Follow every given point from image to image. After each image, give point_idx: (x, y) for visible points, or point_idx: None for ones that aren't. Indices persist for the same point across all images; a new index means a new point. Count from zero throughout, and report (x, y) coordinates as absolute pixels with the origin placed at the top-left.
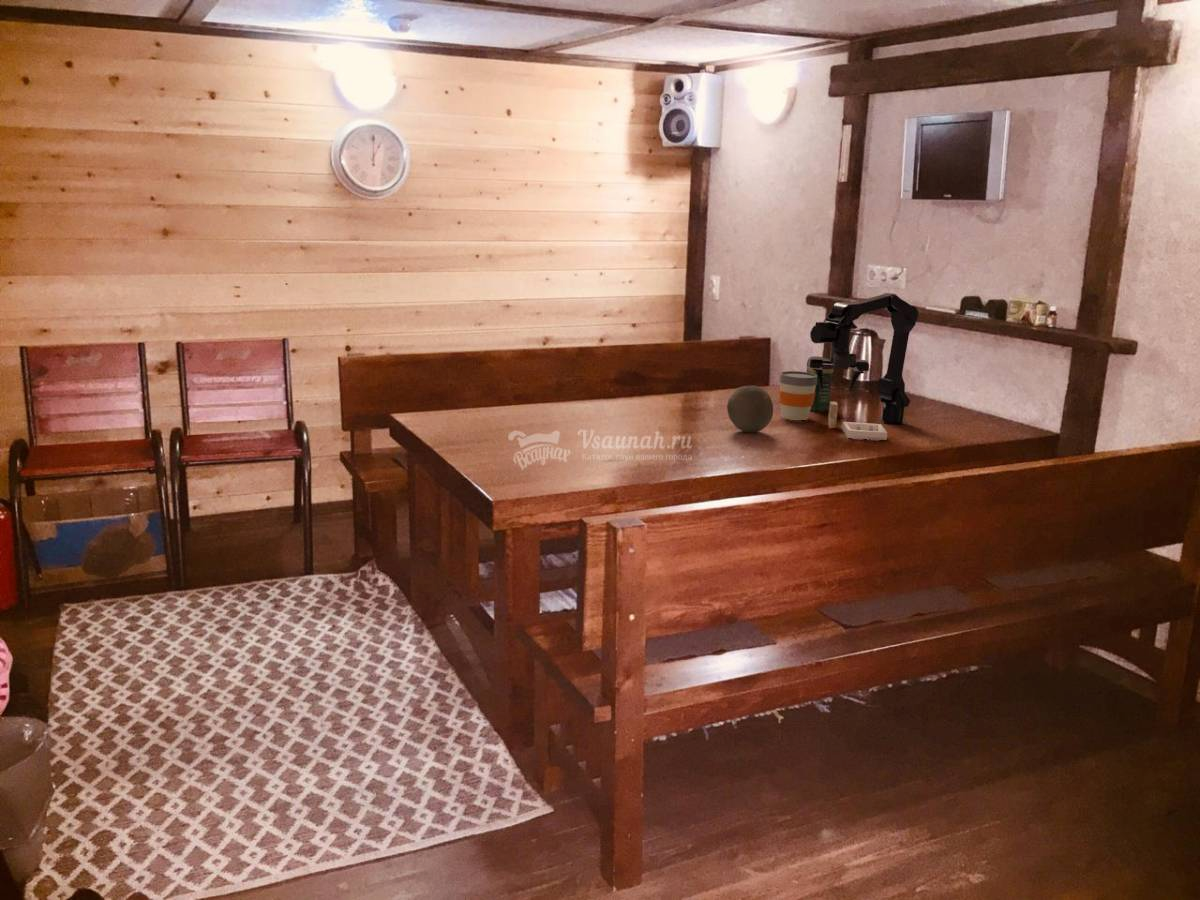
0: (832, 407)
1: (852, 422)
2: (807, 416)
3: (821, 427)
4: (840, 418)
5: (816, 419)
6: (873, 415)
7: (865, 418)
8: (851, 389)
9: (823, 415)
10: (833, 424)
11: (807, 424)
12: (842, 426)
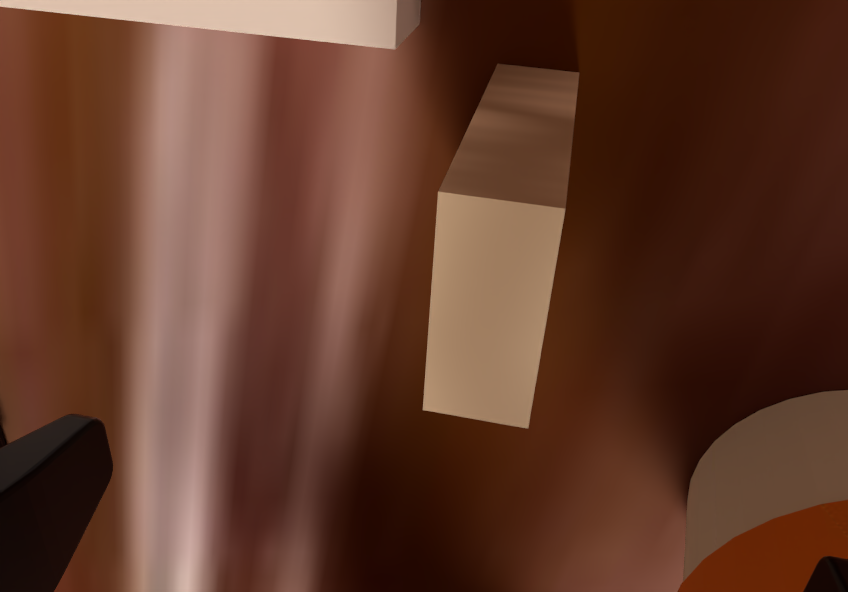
0: (548, 183)
1: (261, 28)
2: (737, 452)
3: (676, 108)
4: (346, 497)
5: (600, 461)
6: (78, 574)
7: (135, 500)
8: (33, 431)
9: (481, 581)
10: (525, 81)
11: (815, 246)
12: (410, 26)
